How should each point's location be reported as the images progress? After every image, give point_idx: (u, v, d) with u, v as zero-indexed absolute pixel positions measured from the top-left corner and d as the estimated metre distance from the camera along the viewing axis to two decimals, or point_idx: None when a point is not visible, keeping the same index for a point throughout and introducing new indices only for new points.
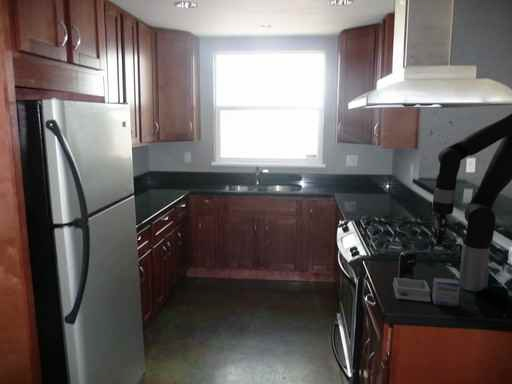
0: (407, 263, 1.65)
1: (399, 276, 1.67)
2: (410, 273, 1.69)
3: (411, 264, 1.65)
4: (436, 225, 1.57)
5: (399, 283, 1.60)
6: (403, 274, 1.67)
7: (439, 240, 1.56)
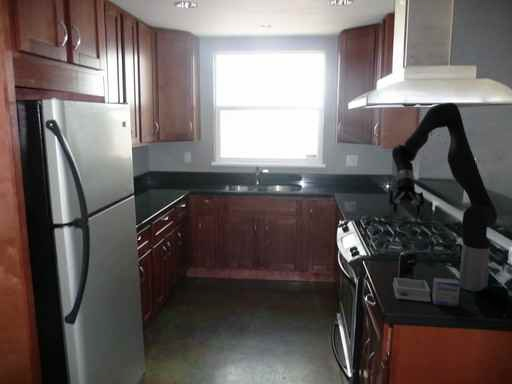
0: (407, 264, 1.65)
1: (399, 276, 1.67)
2: (410, 273, 1.69)
3: (411, 264, 1.65)
4: (398, 201, 1.81)
5: (399, 283, 1.60)
6: (403, 274, 1.67)
7: (393, 209, 1.78)
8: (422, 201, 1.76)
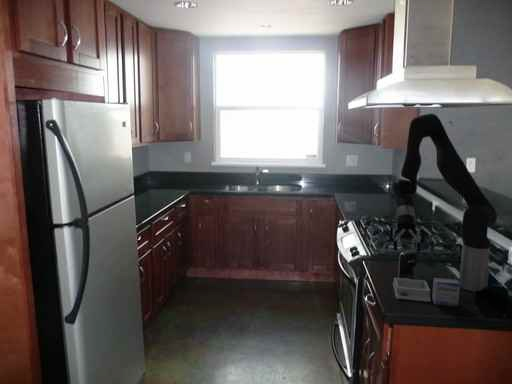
0: (407, 264, 1.65)
1: (399, 276, 1.67)
2: (410, 273, 1.69)
3: (411, 264, 1.65)
4: None
5: (399, 283, 1.60)
6: (403, 274, 1.67)
7: (393, 247, 1.73)
8: (423, 239, 1.72)
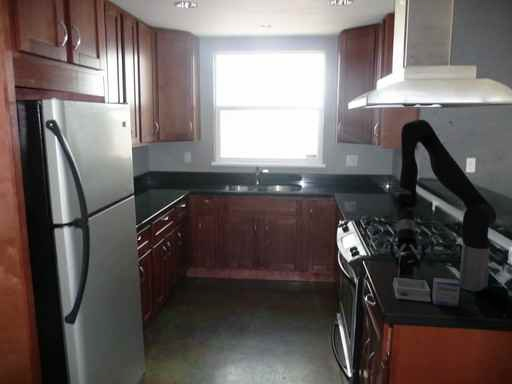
0: (407, 264, 1.65)
1: (399, 276, 1.67)
2: (410, 273, 1.69)
3: (411, 264, 1.65)
4: None
5: (399, 283, 1.60)
6: (403, 274, 1.67)
7: None
8: (423, 255, 1.67)
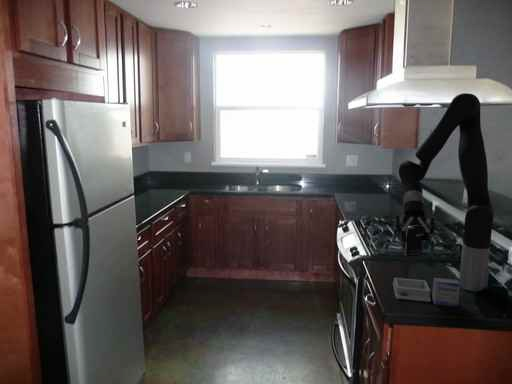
0: (415, 238, 1.50)
1: (406, 252, 1.52)
2: (418, 249, 1.54)
3: (419, 238, 1.50)
4: None
5: (399, 283, 1.60)
6: (410, 249, 1.52)
7: (401, 238, 1.53)
8: (432, 228, 1.52)
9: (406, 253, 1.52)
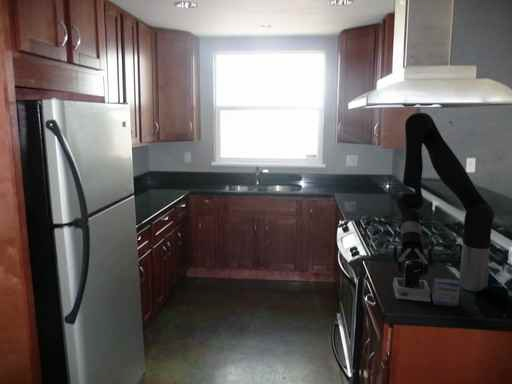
0: (414, 273, 1.52)
1: None
2: (416, 283, 1.56)
3: (417, 274, 1.53)
4: (404, 258, 1.59)
5: (399, 283, 1.60)
6: (409, 284, 1.55)
7: (398, 268, 1.55)
8: (431, 260, 1.54)
9: None
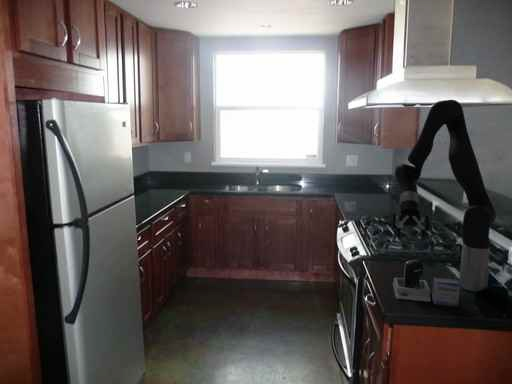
0: (414, 273, 1.52)
1: None
2: (416, 283, 1.56)
3: (417, 274, 1.53)
4: None
5: (399, 283, 1.60)
6: (409, 284, 1.55)
7: (396, 234, 1.65)
8: (427, 226, 1.63)
9: None
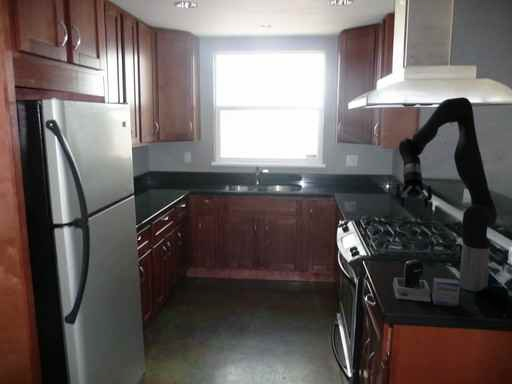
0: (414, 273, 1.52)
1: None
2: (416, 283, 1.56)
3: (417, 274, 1.53)
4: None
5: (399, 283, 1.60)
6: (409, 284, 1.55)
7: (400, 203, 1.73)
8: (430, 195, 1.71)
9: None
